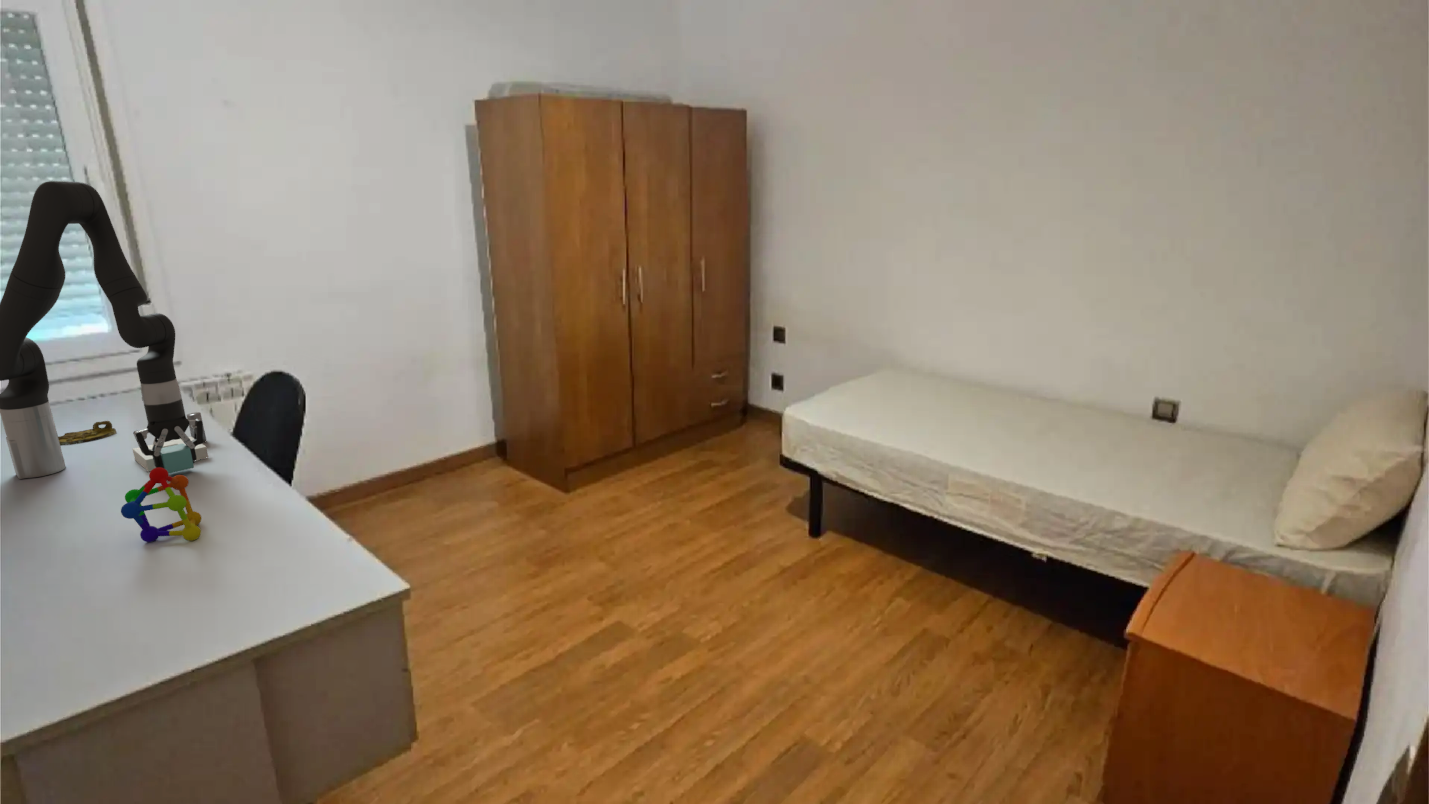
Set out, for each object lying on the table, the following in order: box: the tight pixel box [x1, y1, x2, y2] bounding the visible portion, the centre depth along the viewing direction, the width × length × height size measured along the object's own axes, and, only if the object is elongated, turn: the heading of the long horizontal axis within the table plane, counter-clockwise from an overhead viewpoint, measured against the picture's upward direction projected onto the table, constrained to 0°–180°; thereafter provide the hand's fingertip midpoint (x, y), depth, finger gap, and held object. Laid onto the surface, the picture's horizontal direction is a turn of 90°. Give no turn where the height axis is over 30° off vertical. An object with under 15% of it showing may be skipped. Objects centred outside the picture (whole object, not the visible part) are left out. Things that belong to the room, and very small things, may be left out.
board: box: [132, 436, 209, 473], centre depth 200 cm, size 13×13×3 cm
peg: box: [186, 411, 207, 443], centre depth 212 cm, size 3×3×8 cm
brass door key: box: [58, 420, 117, 446], centre depth 218 cm, size 9×5×15 cm
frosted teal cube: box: [160, 444, 195, 475], centre depth 189 cm, size 6×6×5 cm
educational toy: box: [120, 467, 203, 543], centre depth 153 cm, size 16×13×15 cm
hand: (176, 465), depth 189 cm, fingers closed on frosted teal cube, 5 cm apart
